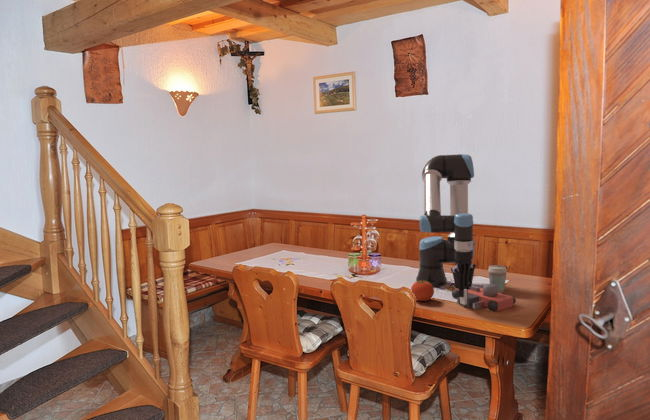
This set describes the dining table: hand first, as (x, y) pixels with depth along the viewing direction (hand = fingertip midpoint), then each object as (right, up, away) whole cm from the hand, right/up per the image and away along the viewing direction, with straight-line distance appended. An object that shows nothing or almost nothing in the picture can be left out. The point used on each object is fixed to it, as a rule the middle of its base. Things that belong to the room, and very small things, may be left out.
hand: (463, 303), depth 204 cm
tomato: (-15, -1, +11) cm, 19 cm away
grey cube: (+3, -1, +2) cm, 4 cm away
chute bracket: (+4, -1, +2) cm, 4 cm away
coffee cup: (+21, +2, +19) cm, 29 cm away
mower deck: (+10, 0, +6) cm, 12 cm away
